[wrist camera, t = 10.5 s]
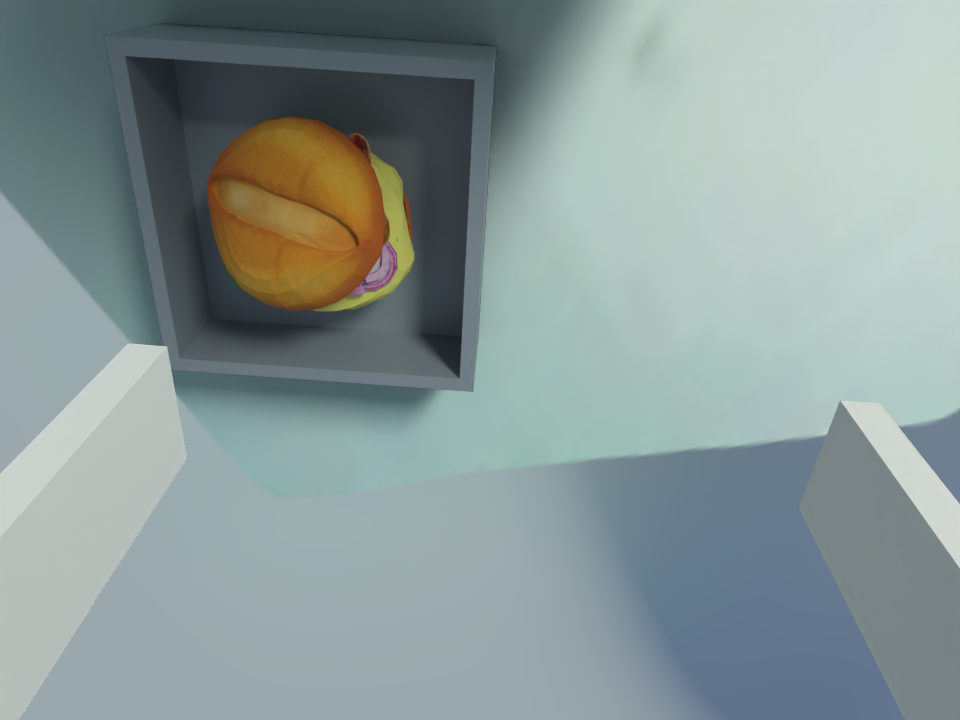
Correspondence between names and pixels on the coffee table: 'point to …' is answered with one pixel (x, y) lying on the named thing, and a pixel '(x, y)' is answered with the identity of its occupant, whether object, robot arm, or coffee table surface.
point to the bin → (349, 109)
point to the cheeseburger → (309, 217)
